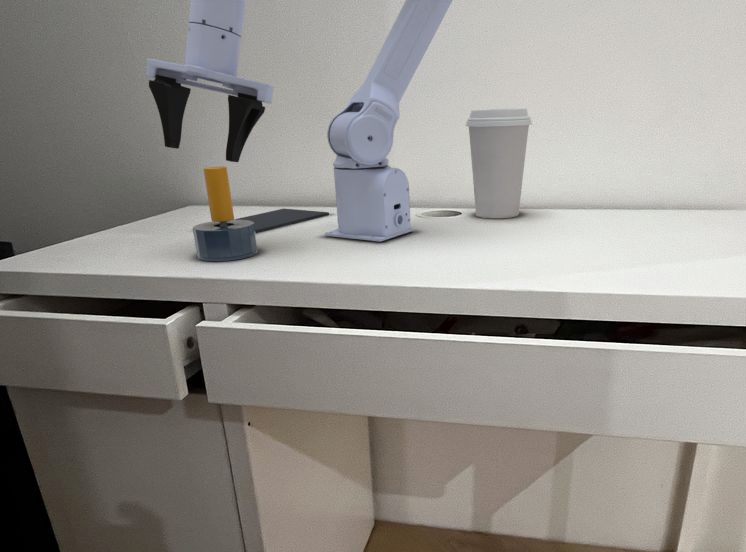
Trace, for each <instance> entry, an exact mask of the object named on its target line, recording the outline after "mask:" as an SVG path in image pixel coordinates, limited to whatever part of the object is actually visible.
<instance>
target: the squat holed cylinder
mask: <svg viewBox="0 0 746 552" xmlns="http://www.w3.org/2000/svg"><path fill="white" fill-rule="evenodd" d="M227 224H228V226H226V227H220V223H219V222H214V221H212V220H211V221H207V222H206V221H205V222H201V223H197V224H195V225H194V226H193V227H192V232H193V239H194V240H193V241H194V245H195V250H196V255H197V258H198V260H201V261H203V262H229V261H230V262H232V261H238V260H243V259H248V258H250V257H253V256H255V255H257V254H258V241H257V235H256V234H257V233H255V226H254V222H252V221H249V220H234V219H233V220H230V221H227Z"/></svg>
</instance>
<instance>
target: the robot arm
mask: <svg viewBox="0 0 746 552" xmlns="http://www.w3.org/2000/svg"><path fill="white" fill-rule="evenodd" d="M246 2H247V0H190V2H189V3H190V4H189V13H188V14H189V15H188V23H187V24H188V25H187V34H186V35H187V36H186V46H185V56H184V64H182V63H175V62H171V61H165V60H164V61H163V60H159V59H153V58H148V57H147V59H146V71H145V76H146V77H149V78H152V79H154V80H152V79H149V80H148V88H149V90H150V93H151V95H152V97H153V99H154V103H155V104H156V107H157V110H158V114H159V119H160V122H161V128H162V134H163V141H164V147H166V148H170V149H177V150H178V149H180V144H181V141H182V129H183V122H184V121H183V119H184V115H185V110H186V107H187V104H188V100H189V97H190V94H191V88H190V87H194V88H199V89H202V90H203V89H204V90H208V91H212V92H217V93H221V94H227V103H228V133H227V141H226V149H225V161H227V162H230V163H239V161H240V158H241V155H242V152H243V150H244V147H245V145H246V142H247V140H248V138H249V136H250V135H251V132H252V131H253V129H254V127H255V126H256V124H257V123H258V122H259V120H260V119H261V117H263V115H264V113H265V111H266V107H265V106H263V103H266V104H269V105H271V104H272V103H273V102H272V101H273V94H274V86H273V85H270V84H269V83H266V82H260V81H256V80H252V79H247V78H244V77H239V76H238V69H239V61H240V52H241V45H242V36H243V28H244V19H245V12H246V11H245V10H246V4H247V3H246ZM452 3H453V0H405V1H404V2H403V5H402V7H401V9H400V11H399V13H398V14H397V16H396V18H395V20H394V23H392V26H391V27H390V31H389V32H388V34H387V36H386V38H385V39H384V42H383V43H382V46H381V48H380V50H379V52H378V54H377V56H376V57H375V60H374V62H373V64H372V65H371V67H370V70H369V72H368V73H367V75H366V77H365V80H364V81H363V83H362V85H360V87H359V88H358V89H357V90H356V91H355V93H354V94H353V95H352V96H351V97H350V99H349V101H348V103H347V105H346V106H345V108H344V109H343V110H341V111H340V112H339V113H337V114H335V116H334V117H333V118H332V119H331V121H330V122H329V124H328V126H327V133H326V138H327V142H328V143H327V144H328V145H329V148H330V150H331V151H332V152H333V153H334V154H335V155H336V157H335V160H334V161H333V162H332V166H333V178H334V189H335V190H334V191H335V203H336V215H337V217H336V218H337V227H338V228H335V229H332V230H328V231H325V232H324V236H326V237H334V238H343V239H353V240H362V241H363V240H364V241H371V242H384V241H387V240H390V239H392V238H393V239H394V238H396V237H399V236H402V235H405V234H408V233H411V232H413V231H415V228H414V226H411V202H410V199H411V198H410V185H409V179H408V177H407V174H406V173H405V171H403V170H402V169H401V168H397V167H391V166H390V165H389V158H387V157H388V156H389V154H390V153H391V151H392V148H393V144H394V132H395V128H396V125H397V124H398V121H399V119H400V114H401V113H400V112H401V111H400V103H401V100H402V99H403V97H404V95H405V92H406V91H407V89H408V87H409V85H410V84H411V81H412V79H413V77H414V75H415V74H416V72H417V70H418V68H419V66H420V64H421V62H422V61H423V58H424V56H425V54H426V52H427V51H428V49H429V47H430V44H431V43H432V41H433V39H434V37H435V35H436V33H437V31H438V29H439V27H440V25H441V23H442V21H443V20H444V18H445V16H446V13H447V12H448V10H449V8H450V6H451V5H452ZM199 79H200V80H201V81H207V82H211V83H216V84H219V85H222V87H220V86H216V85H210V84H206V83H201V82H198V80H199ZM184 85H185V86H184ZM187 86H190V87H187Z"/></svg>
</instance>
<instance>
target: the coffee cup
mask: <svg viewBox="0 0 746 552" xmlns="http://www.w3.org/2000/svg"><path fill="white" fill-rule="evenodd" d="M531 125H533V121H532V119H531V116H530V115H529V113H528V109H527V108H492V109H491V108H489V109H471V111H470V114H469V117H468V118H467V120H466V123H465V127H468V135H469V145H470V146H469V147H470V157H471V169H472V171H471V173H472V184H473V195H474V197H473V198H474V207H475V216H476V217H478V218H483V219H510V218H515V217H518V216H519V215H520V208H521V207H520V206H521V197H522V189H523V179H524V169H525V161H526V153H527V143H528V135H529V128H530V126H531Z"/></svg>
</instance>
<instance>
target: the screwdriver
mask: <svg viewBox="0 0 746 552" xmlns="http://www.w3.org/2000/svg"><path fill="white" fill-rule="evenodd" d="M228 173H229V172H228V167H227V166H208V167H203V174H204V181H205V188H206V194H207V201H208V208H209V214H210V220H211V222H212V221H214V222H219V223H220V227H226V226H228V224H227V221H230V220H234V219H235V214H234V207H233V202H232V195H231V194H232V193H231V187H230V180H229V179H230V178H229V174H228Z"/></svg>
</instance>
